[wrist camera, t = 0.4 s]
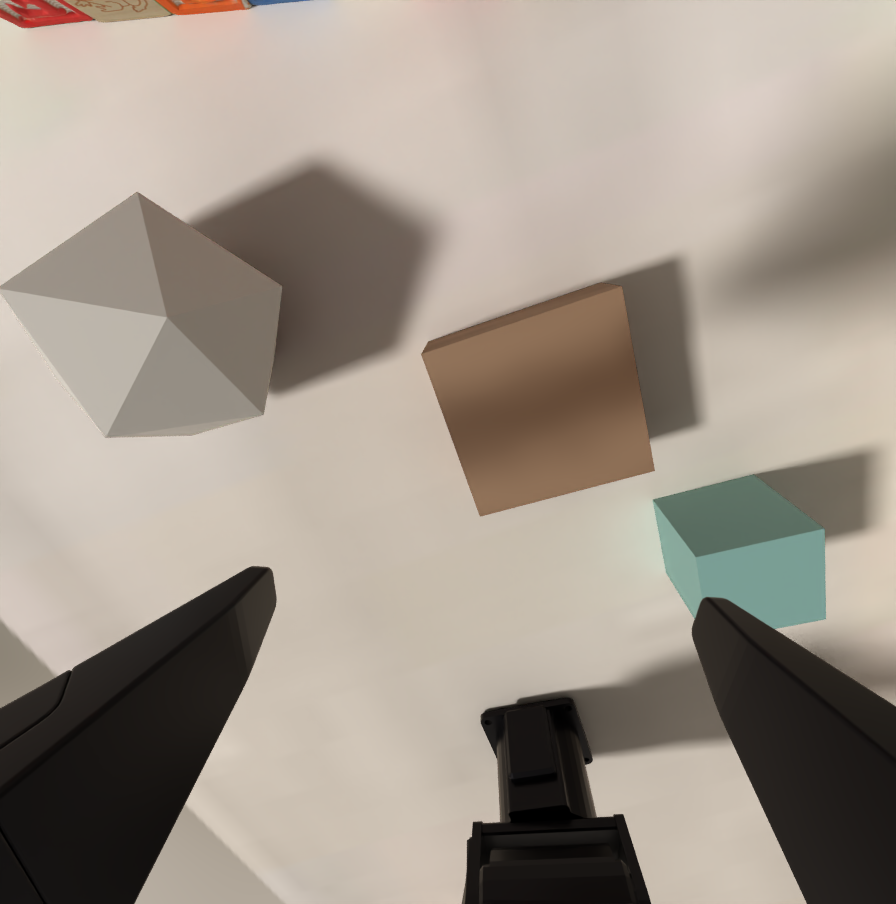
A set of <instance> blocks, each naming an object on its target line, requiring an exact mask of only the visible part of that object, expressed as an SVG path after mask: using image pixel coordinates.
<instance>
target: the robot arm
mask: <svg viewBox="0 0 896 904" xmlns="http://www.w3.org/2000/svg"><path fill="white" fill-rule="evenodd" d="M275 607H276V591H275V584H274V577H273V572H272V570H271V569H270V568H269V567H260V566H251V567H249V568H247V569H245V570H243V571H242V572H240V573H238V574H236V575H235V576H233V577H231V578H229V579H228V580H226V581H224V582H222V583H221V584H219V585H217V586H215V587H214V588H212V589H210V590H208V591H207V592H205V593H203V594H201V595H200V596H198V597H196V598H194V599H193V600H191V601H189V602H187V603H186V604H184V605H182V606H180V607H179V608H177V609H175V610H173V611H172V612H170V613H168V614H166V615H165V616H163V617H161V618H159V619H158V620H156V621H154V622H152V623H151V624H149V625H147V626H145V627H143V628H142V629H140V630H138V631H136V632H135V633H133V634H131V635H129V636H128V637H126V638H124V639H122V640H121V641H119V642H117V643H115V644H114V645H112V646H110V647H108V648H107V649H105V650H103V651H101V652H100V653H98V654H96V655H94V656H93V657H91V658H89V659H87V660H86V661H84V662H82V663H80V664H79V665H77V666H75V667H74V668H73V669H72V671H70V670H68V671H66V672H64V673H63V674H61V675H59V676H57V677H56V678H54V679H52V680H50V681H49V682H47V683H45V684H43V685H42V686H40V687H38V688H36V689H34V690H32V691H31V692H29V693H27V694H25V695H23V696H22V697H20V698H18V699H17V700H14V701H13V702H11V703H9V704H7V705H5V706H4V707H2V708H0V904H134V903H135V901H136V899H137V897H138V895H139V893H140V891H141V890H142V888H143V886H144V884H145V881H146V880H147V878H148V876H149V873H150V872H151V870H152V868H153V866H154V864H155V862H156V860H157V858H158V856H159V854H160V852H161V850H162V848H163V846H164V844H165V842H166V840H167V838H168V836H169V834H170V832H171V830H172V828H173V826H174V824H175V822H176V820H177V818H178V816H179V814H180V812H181V811H182V809H183V807H184V805H185V803H186V801H187V799H188V797H189V795H190V793H191V791H192V789H193V787H194V785H195V783H196V781H197V779H198V777H199V775H200V773H201V771H202V769H203V767H204V765H205V763H206V761H207V759H208V757H209V755H210V753H211V751H212V749H213V747H214V745H215V743H216V741H217V739H218V737H219V735H220V733H221V732H222V730H223V728H224V726H225V724H226V722H227V720H228V718H229V716H230V714H231V712H232V710H233V708H234V706H235V704H236V702H237V700H238V698H239V696H240V694H241V692H242V690H243V688H244V686H245V684H246V682H247V680H248V677H249V675H250V673H251V670H252V668H253V665H254V663H255V660H256V657H257V655H258V652H259V650H260V647H261V644H262V642H263V639H264V637H265V634H266V631H267V629H268V626H269V623H270V621H271V618H272V616H273V613H274V610H275ZM692 637H693V641H694V644H695V647H696V650H697V653H698V655H699V658H700V661H701V664H702V667H703V670H704V673H705V675H706V678H707V681H708V684H709V687H710V690H711V693H712V695H713V698H714V701H715V704H716V706H717V709H718V712H719V714H720V716H721V719H722V721H723V723H724V726H725V728H726V730H727V732H728V734H729V736H730V739H731V741H732V743H733V745H734V747H735V749H736V752H737V754H738V756H739V758H740V760H741V762H742V765H743V767H744V769H745V771H746V773H747V775H748V777H749V780H750V782H751V784H752V786H753V788H754V790H755V793H756V795H757V797H758V799H759V801H760V803H761V805H762V808H763V810H764V812H765V814H766V816H767V818H768V821H769V823H770V825H771V827H772V829H773V831H774V834H775V836H776V838H777V840H778V842H779V844H780V846H781V849H782V851H783V853H784V855H785V857H786V859H787V862H788V864H789V866H790V868H791V870H792V872H793V875H794V877H795V879H796V881H797V883H798V885H799V887H800V890H801V892H802V894H803V896H804V898H805V900H806V903H807V904H896V706H894V705H893V704H891V703H890V702H888V701H887V700H885V699H883V698H882V697H880V696H879V695H877V694H876V693H874V692H872V691H871V690H869V689H868V688H866V687H865V686H863V685H861V684H860V683H858V682H857V681H855V680H853V679H852V678H850V677H849V676H847V675H846V674H844V673H842V672H841V671H839V670H838V669H836V668H835V667H833V666H831V665H830V664H828V663H827V662H825V661H824V660H822V659H820V658H819V657H817V656H816V655H814V654H813V653H811V652H809V651H808V650H806V649H805V648H803V647H802V646H800V645H798V644H797V643H795V642H794V641H792V640H791V639H789V638H787V637H786V636H784V635H783V634H781V633H780V632H778V631H776V630H775V629H773V628H772V627H770V626H769V625H767V624H765V623H764V622H762V621H761V620H759V619H758V618H756V617H755V616H753V615H751V614H750V613H748V612H747V611H745V610H744V609H742V608H740V607H739V606H737V605H736V604H734V603H733V602H731V601H729V600H728V599H725V598H718V597H705V598H703V599H702V600H701V602H700V605H699V608H698V611H697V614H696V617H695V620H694V623H693V626H692ZM481 725H482V727H483V729H484V731H485V733H486V736H487V738H488V740H489V742H490V744H491V747H492V749H493V751H494V753H495V755H496V758H497V763H498V784H499V805H500V822H497V823H483V822H482V821H479V822H473V829H472V837H471V838H470V839H469V840H467V873H466V882H465V888H464V894H463V900H462V904H651V902H650V898H649V895H648V891H647V888H646V885H645V882H644V879H643V875H642V872H641V869H640V866H639V863H638V860H637V856H636V853H635V850H634V847H633V844H632V841H631V837H630V834H629V831H628V828H627V825H626V822H625V818H624V815H623V814H614V815H613V816H614V817H597V816H596V812H595V807H594V803H593V798H592V794H591V789H590V785H589V780H588V776H587V771H586V767H585V765H586V764H590V763H591V762H592V761H593V759H592V754H591V751H590V748H589V745H588V742H587V739H586V736H585V733H584V730H583V727H582V724H581V721H580V718H579V714H578V711H577V708H576V705H575V702H574V700H573V699H571V698H562V699H556V700H551V701H545V702H540V703H534V704H528V705H523V706H517V707H512V708H506V709H500V710H495V711H489V712H485V713H483V714H481Z"/></svg>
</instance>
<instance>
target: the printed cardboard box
mask: <svg viewBox="0 0 896 904" xmlns="http://www.w3.org/2000/svg"><path fill="white" fill-rule="evenodd" d="M298 1H308V0H0V17H1V18H3V19H5V20H7V21H9V22H11V23H13V24H15V25H17V26H19V27H21V28H31V27H38V26H46V25H54V24H63V23H70V22H80V21H91V20H93V19H95V20H97V21H99V22H113V21H123V20H134V19H143V18H154V17H163V16H168V15H170V14H176V15H188V14H199V13H211V12H223V11H233V10H245V9H249V8H250V7H251V6H252V5H269V4H277V3H287V2H298Z"/></svg>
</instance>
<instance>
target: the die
mask: <svg viewBox="0 0 896 904" xmlns="http://www.w3.org/2000/svg"><path fill="white" fill-rule="evenodd" d="M0 294H1V295H2V297H3V298H4V300H5V301H6V303H7V304H8V306H9V308H10V309H11V311H12V312H13V314H14V315H15V317H16V318H17V320H18V321H19V323H20V325H21V326H22V328H23V329H24V331H25V332H26V334H27V335H28V337H29V338H30V340H31V341H32V343H33V345H34V346H35V348H36V349H37V351H38V352H39V354H40V355H41V357H42V358H43V360H44V362H45V363H46V365H47V366H48V368H49V369H50V371H51V372H52V374H53V375H54V377H55V378H56V380H57V381H58V382H59V383H60V385H61V386H62V387H63V388H64V389H65V391H66V392H67V393H68V394H69V395H70V396H71V398H72V399H73V400H74V401H75V402H76V404H77V405H78V406H79V407H80V408H81V409H82V411H83V412H84V413H85V414H86V415H87V416H88V418H89V419H90V420H91V421H92V422H93V424H94V425H95V426H96V427H97V428H98V429H99V431H100V432H101V433H102V434H103V435H104V437H105V438H113V437H153V436H192V435H195V434H199V433H202V432H206V431H209V430H213V429H216V428H220V427H223V426H226V425H230V424H233V423H237V422H240V421H244V420H247V419H250V418H254V417H257V416H261V415H264V410H265V404H266V399H267V394H268V389H269V384H270V379H271V374H272V368H273V363H274V356H275V347H276V339H277V330H278V321H279V312H280V303H281V294H282V286H281V285H280V284H278V283H277V282H275V281H274V280H272V279H271V278H269V277H268V276H266V275H264V274H263V273H261V272H260V271H258V270H257V269H255V268H254V267H252V266H251V265H249V264H248V263H246V262H244V261H243V260H241V259H240V258H238V257H237V256H235V255H234V254H232V253H231V252H229V251H228V250H226V249H224V248H223V247H221V246H220V245H218V244H217V243H215V242H214V241H212V240H211V239H209V238H208V237H206V236H204V235H203V234H201V233H200V232H198V231H197V230H195V229H194V228H192V227H191V226H189V225H188V224H186V223H184V222H183V221H181V220H180V219H178V218H177V217H175V216H174V215H172V214H171V213H169V212H168V211H166V210H164V209H163V208H161V207H160V206H158V205H157V204H155V203H154V202H152V201H151V200H149V199H148V198H146V197H144V196H143V195H141V194H140V193H138V192H136V193H135V194H133V195H132V196H130V197H129V198H128V199H126V200H125V201H123V202H122V203H120V204H119V205H117V206H116V207H114V208H113V209H112V210H110V211H109V212H107V213H106V214H104V215H103V216H101V217H100V218H98V219H97V220H96V221H94V222H93V223H91V224H90V225H88V226H87V227H85V228H84V229H82V230H81V231H80V232H78V233H77V234H75V235H74V236H72V237H71V238H69V239H68V240H67V241H65V242H64V243H62V244H61V245H59V246H58V247H56V248H55V249H53V250H52V251H51V252H49V253H48V254H46V255H45V256H43V257H42V258H40V259H39V260H37V261H36V262H35V263H33V264H32V265H30V266H29V267H27V268H26V269H24V270H23V271H21V272H20V273H19V274H17V275H16V276H14V277H13V278H11V279H10V280H8V281H7V282H6V283H4V284H3V285H1V286H0Z"/></svg>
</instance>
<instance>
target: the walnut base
mask: <svg viewBox="0 0 896 904" xmlns="http://www.w3.org/2000/svg"><path fill="white" fill-rule="evenodd" d="M421 355H422V358H423V360H424V363H425V366H426V369H427V371H428V374H429V377H430V380H431V383H432V385H433V388H434V391H435V394H436V396H437V399H438V402H439V405H440V407H441V410H442V413H443V416H444V418H445V421H446V424H447V427H448V429H449V432H450V435H451V438H452V441H453V443H454V446H455V449H456V452H457V454H458V457H459V460H460V463H461V465H462V468H463V471H464V474H465V476H466V479H467V482H468V485H469V487H470V490H471V493H472V496H473V498H474V501H475V504H476V507H477V510H478V512H479V515H480V516H484V515H488V514H492V513H495V512H499V511H503V510H507V509H511V508H515V507H518V506H522V505H526V504H530V503H534V502H537V501H541V500H545V499H549V498H553V497H557V496H560V495H564V494H568V493H572V492H576V491H579V490H583V489H587V488H591V487H595V486H599V485H602V484H606V483H610V482H614V481H618V480H621V479H625V478H629V477H633V476H637V475H641V474H644V473H648V472H652V471H655V469H654V464H653V458H652V452H651V447H650V441H649V436H648V430H647V424H646V419H645V413H644V407H643V402H642V396H641V391H640V385H639V379H638V374H637V368H636V362H635V357H634V351H633V345H632V340H631V334H630V329H629V323H628V317H627V312H626V306H625V300H624V295H623V289H622V286H618V285H612V284H606V283H598V284H595V285H592V286H589V287H586V288H583V289H581V290H578V291H575V292H572V293H569V294H566V295H563V296H560V297H557V298H554V299H551V300H548V301H546V302H543V303H540V304H537V305H534V306H531V307H528V308H525V309H522V310H519V311H516V312H513V313H511V314H508V315H505V316H502V317H499V318H496V319H493V320H490V321H487V322H484V323H481V324H478V325H476V326H473V327H470V328H467V329H464V330H461V331H458V332H455V333H452V334H449V335H446V336H443V337H441V338H438V339H435V340H432V341H429V342H428V343H427V345H426V347H425V348H424V350H423V352H422V354H421Z"/></svg>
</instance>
